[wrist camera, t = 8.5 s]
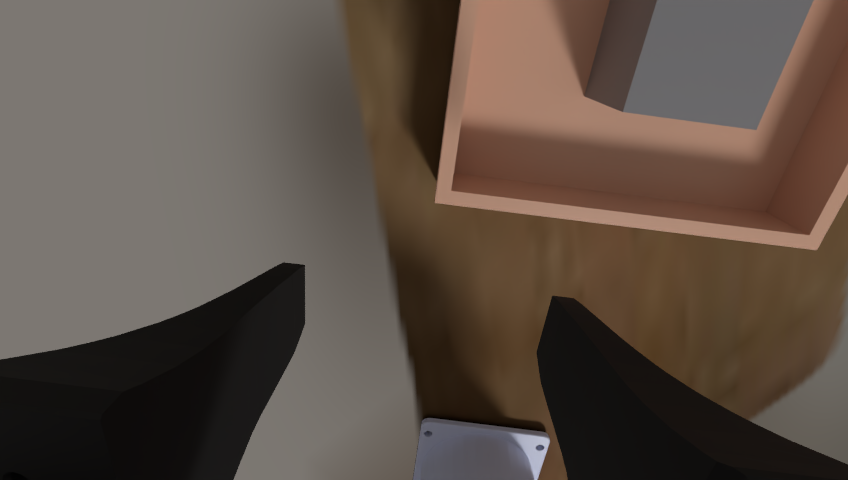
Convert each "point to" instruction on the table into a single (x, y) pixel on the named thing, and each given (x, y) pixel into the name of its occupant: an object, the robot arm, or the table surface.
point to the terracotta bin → (638, 133)
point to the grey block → (694, 57)
